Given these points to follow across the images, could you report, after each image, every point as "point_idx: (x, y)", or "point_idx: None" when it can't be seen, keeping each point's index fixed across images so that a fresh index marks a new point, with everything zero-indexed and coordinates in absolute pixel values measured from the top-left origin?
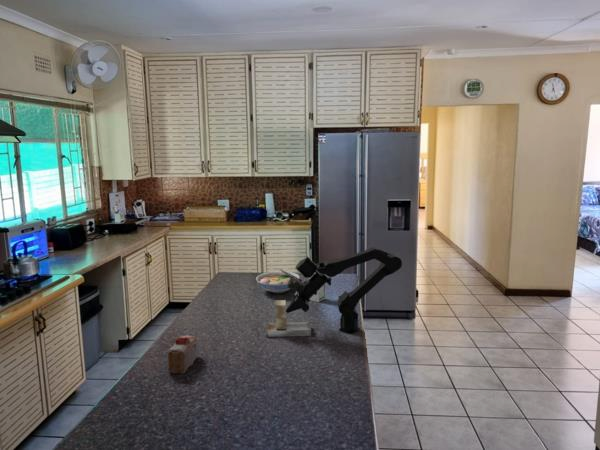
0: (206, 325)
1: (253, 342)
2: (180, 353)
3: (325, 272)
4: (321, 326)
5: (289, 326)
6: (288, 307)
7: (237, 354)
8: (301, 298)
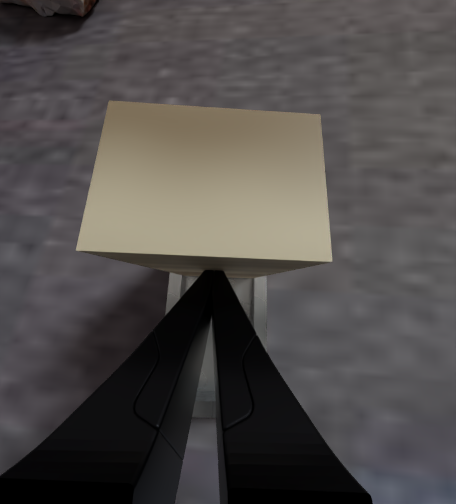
0: (302, 32)
1: None
2: None
3: None
4: None
5: (250, 294)
6: (190, 300)
7: (69, 112)
8: None
